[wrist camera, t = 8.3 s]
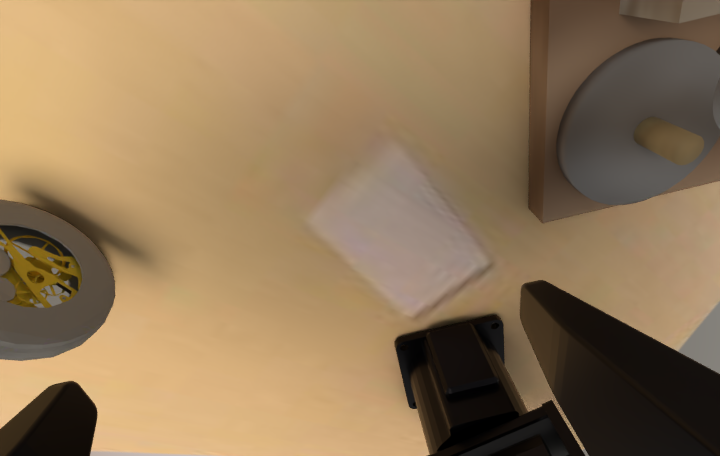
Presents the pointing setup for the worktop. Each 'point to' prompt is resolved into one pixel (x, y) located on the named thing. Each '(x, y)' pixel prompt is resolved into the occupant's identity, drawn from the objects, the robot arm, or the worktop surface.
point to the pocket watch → (48, 284)
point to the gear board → (621, 102)
